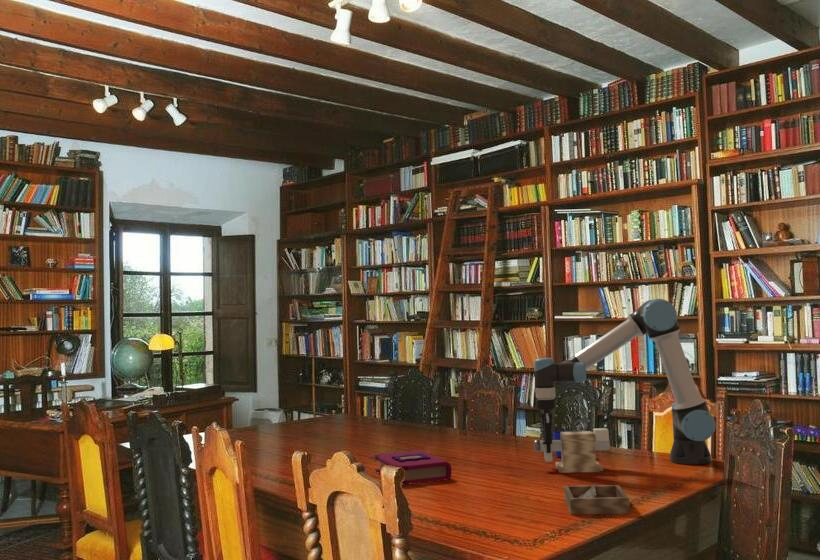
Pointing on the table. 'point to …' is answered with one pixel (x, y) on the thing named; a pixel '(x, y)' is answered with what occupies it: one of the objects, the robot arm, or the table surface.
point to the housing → (578, 453)
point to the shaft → (558, 445)
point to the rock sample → (591, 493)
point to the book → (417, 466)
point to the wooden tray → (597, 500)
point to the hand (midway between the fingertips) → (548, 459)
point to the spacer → (601, 434)
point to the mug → (557, 437)
